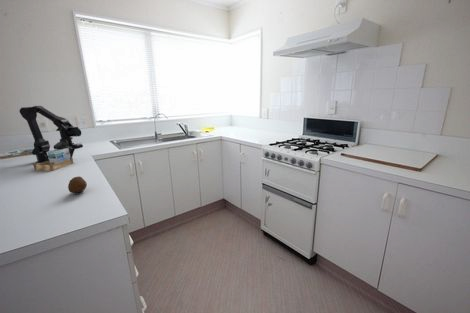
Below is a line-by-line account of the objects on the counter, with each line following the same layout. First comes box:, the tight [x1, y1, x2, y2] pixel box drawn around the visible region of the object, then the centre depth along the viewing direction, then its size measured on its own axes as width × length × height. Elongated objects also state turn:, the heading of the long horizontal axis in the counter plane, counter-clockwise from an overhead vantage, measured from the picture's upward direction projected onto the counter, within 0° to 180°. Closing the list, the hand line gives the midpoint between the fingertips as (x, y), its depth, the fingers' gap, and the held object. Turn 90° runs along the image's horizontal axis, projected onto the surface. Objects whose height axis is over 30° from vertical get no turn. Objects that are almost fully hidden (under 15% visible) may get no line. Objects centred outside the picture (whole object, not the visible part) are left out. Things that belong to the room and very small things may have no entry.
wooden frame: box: [32, 156, 74, 172], centre depth 150 cm, size 13×16×5 cm
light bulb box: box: [47, 148, 70, 165], centre depth 154 cm, size 11×7×11 cm, turn 172°
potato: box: [67, 176, 87, 194], centre depth 107 cm, size 7×10×8 cm
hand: (71, 157), depth 163 cm, fingers closed
